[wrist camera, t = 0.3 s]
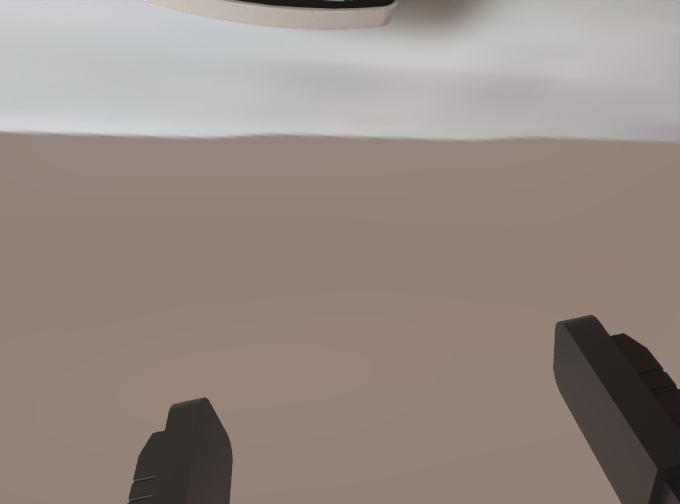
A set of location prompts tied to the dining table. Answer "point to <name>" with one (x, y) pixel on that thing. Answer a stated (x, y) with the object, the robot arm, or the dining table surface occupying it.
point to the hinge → (291, 12)
